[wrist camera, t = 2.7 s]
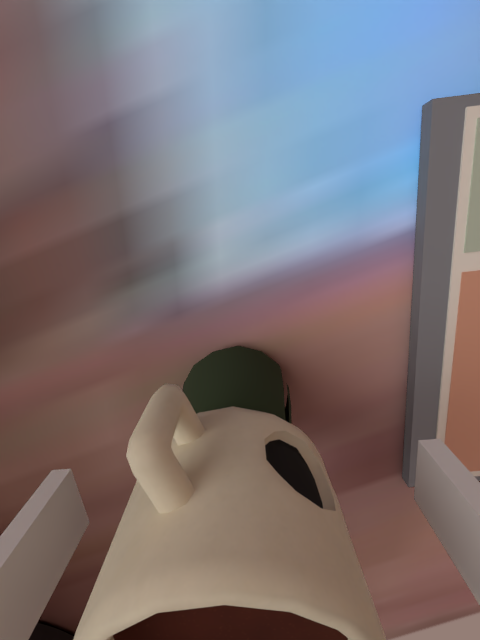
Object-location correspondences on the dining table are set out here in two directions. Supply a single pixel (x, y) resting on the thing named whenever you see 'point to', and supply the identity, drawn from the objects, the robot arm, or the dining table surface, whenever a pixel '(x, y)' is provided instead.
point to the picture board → (446, 287)
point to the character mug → (229, 522)
